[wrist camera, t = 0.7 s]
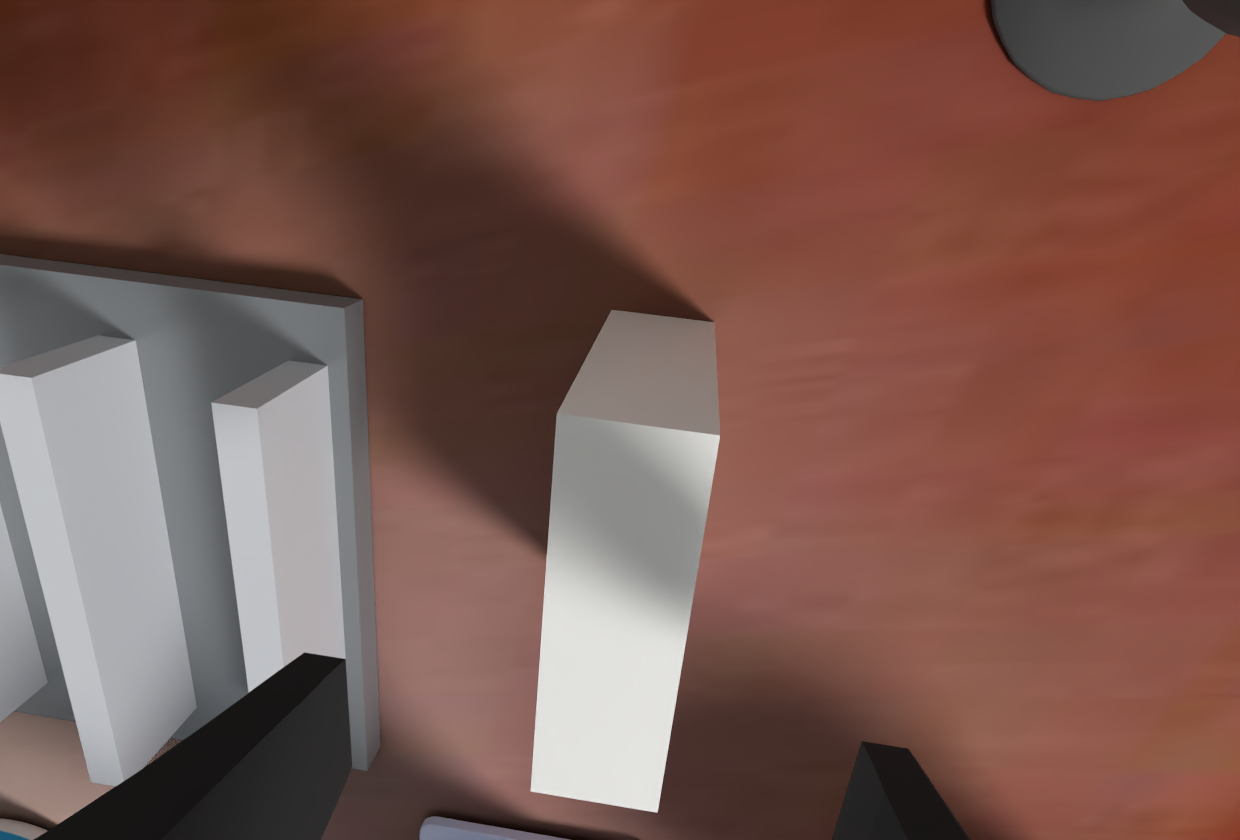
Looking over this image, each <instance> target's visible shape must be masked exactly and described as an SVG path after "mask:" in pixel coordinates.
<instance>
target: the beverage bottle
mask: <svg viewBox="0 0 1240 840" xmlns="http://www.w3.org/2000/svg"><path fill="white" fill-rule="evenodd" d="M47 831H48V830H46V829H43V828H40V827H38V826H35V825H32V824H28V823H25V822H21V821H16V820H10V819H3V818H0V840H34V839H35V838H37V837H39V836H40V835H42V834H44V833H45V832H47Z"/></svg>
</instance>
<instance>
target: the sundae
mask: <svg viewBox="0 0 1240 840" xmlns="http://www.w3.org/2000/svg"><path fill="white" fill-rule="evenodd" d="M991 6H992V16H993V22H994V24H995V27H996V29H997V32H998V34H999V37H1000V39H1001V42H1002V44H1003V46H1004V48H1005V49H1006V51H1007V53H1008V54H1009V56H1010V58H1011V60H1012V61H1013V63H1014V65H1015V66H1017V67H1018V68H1019V69H1020V70H1021V71H1022V72H1023V73H1025V74H1026V75H1027V76H1028V77H1029V78H1030V79H1031V80H1033V81H1034V82H1036V83H1038V84H1039V85H1041V86H1042V87H1044V88H1045V89H1047V90H1049V91H1050V92H1052V93H1056V94H1060V95H1064V96H1068V97H1072V98H1077V99H1086V100H1096V101H1102V100H1108V99H1114V98H1120V97H1126V96H1129V95H1133V94H1136V93H1140V92H1143V91H1147V90H1150V89H1153V88H1155V87H1157V86H1158V85H1160V84H1162V83H1164V82H1166V81H1167V80H1169V79H1171V78H1173V77H1175V76H1176V75H1178V74H1180V73H1181V72H1183V71H1184V70H1185V69H1187V68H1188V67H1190V66H1191V65H1193V64H1194V63H1196V62H1197V61H1198V60H1200V59H1201V58H1203V57H1204V56H1205V55H1206V54H1207V53H1208V52H1209V51H1210V50H1211V49H1212V48H1213V47H1214V45H1215V44H1216V43H1217V42H1218V41H1219V40H1220V39H1221V38H1222V37H1223V36H1224V35H1225V34H1230V35H1234V36H1238V37H1240V0H991Z"/></svg>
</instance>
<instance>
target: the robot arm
mask: <svg viewBox="0 0 1240 840" xmlns="http://www.w3.org/2000/svg"><path fill="white" fill-rule="evenodd" d="M351 768H352V753H351V737H350V721H349V705H348V689H347V673H346V659H342V658H336V657H330V656H324V655H317V654H311V653H305V652H304V653H303V654H302V655H300V656H299V657H297V658H296V659H294V660H293V661H292V662H290V663H289V664H287V665H286V666H285V667H283V668H282V669H280V670H279V671H278V672H276V673H275V674H274V675H272V676H271V677H269V678H268V679H267V680H265V681H264V682H263V683H261V684H260V685H258V686H257V687H256V688H254V689H253V690H252V691H250V692H249V693H248V694H246V695H245V696H244V697H242V698H241V699H239V700H238V701H237V702H235V703H234V704H233V705H231V706H230V707H229V708H227V709H226V710H224V711H223V712H222V713H220V714H219V715H218V716H216V717H215V718H213V719H212V720H211V721H209V722H208V723H207V724H205V725H204V726H202V727H201V728H200V729H198V730H197V731H195V732H194V733H193V734H191V735H190V736H188V737H187V738H185V739H184V740H183V741H181V742H180V743H178V744H177V745H176V746H174V747H173V748H171V749H170V750H169V751H167V752H166V753H164V754H163V755H161V756H160V757H159V758H157V759H156V760H154V761H153V762H152V763H150V764H149V765H147V766H146V767H144V768H143V769H141V770H140V771H139V772H137V773H136V774H134V775H133V776H131V777H130V778H128V779H126V780H125V781H123V782H122V783H120V784H119V785H117V786H116V787H114V788H113V789H111V790H110V791H108V792H107V793H105V794H104V795H102V796H101V797H99V798H98V799H96V800H95V801H93V802H92V803H90V804H89V805H87V806H86V807H84V808H83V809H81V810H80V811H78V812H77V813H75V814H73V815H72V816H70V817H69V818H67V819H66V820H64V821H63V822H61V823H60V824H58V825H56V826H55V827H53V828H52V829H50V830H48V831H47V832H45V833H44V834H42V835H40V836H39V837H37V838H35V839H34V840H320V839H321V837H322V835H323V832H324V830H325V828H326V826H327V824H328V821H329V819H330V817H331V815H332V812H333V810H334V808H335V806H336V803H337V801H338V799H339V796H340V794H341V792H342V789H343V787H344V785H345V782H346V780H347V777H348V775H349V773H350V770H351ZM420 840H570V839H565V838H559V837H553V836H547V835H542V834H536V833H530V832H524V831H518V830H513V829H507V828H501V827H495V826H489V825H484V824H478V823H472V822H466V821H460V820H455V819H449V818H443V817H436V816H432V817H429V818H426V819H425V820H424V822H423V824H422V827H421V829H420ZM832 840H970V839H969V837H968V836H967V834H966V833H965V831H964V830H963V828H962V827H961V825H960V824H959V823H958V821H957V820H956V818H955V817H954V815H953V814H952V812H951V811H950V809H949V808H948V806H947V805H946V803H945V802H944V800H943V799H942V797H941V796H940V795H939V793H938V792H937V790H936V789H935V787H934V786H933V784H932V783H931V781H930V780H929V778H928V777H927V775H926V774H925V772H924V771H923V769H922V768H921V766H920V765H919V763H918V762H917V761H916V759H915V758H914V756H913V755H912V753H911V752H910V751H909V749H907V748H900V747H894V746H888V745H881V744H875V743H869V742H863V741H862V743H861V746H860V749H859V752H858V756H857V759H856V762H855V766H854V769H853V772H852V775H851V779H850V782H849V785H848V789H847V792H846V795H845V799H844V802H843V805H842V808H841V812H840V815H839V818H838V822H837V825H836V828H835V831H834V835H833V838H832Z"/></svg>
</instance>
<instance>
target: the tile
mask: <svg viewBox="0 0 1240 840" xmlns="http://www.w3.org/2000/svg"><path fill="white" fill-rule="evenodd" d="M719 439H720V424H719V404H718V384H717V364H716V344H715V324H714V322H708V321H699V320H691V319H683V318H675V317H667V316H659V315H651V314H643V313H634V312H626V311H618V310H611V312H610V314H609V316H608V318H607V319H606V321H605V323H604V325H603V327H602V329H601V331H600V333H599V335H598V337H597V338H596V340H595V342H594V344H593V346H592V348H591V350H590V352H589V354H588V355H587V357H586V359H585V361H584V363H583V365H582V367H581V369H580V371H579V372H578V374H577V376H576V378H575V380H574V382H573V384H572V386H571V388H570V390H569V391H568V393H567V395H566V397H565V399H564V401H563V403H562V405H561V407H560V408H559V410H558V412H557V417H556V431H555V446H554V460H553V475H552V489H551V504H550V518H549V533H548V547H547V562H546V576H545V591H544V605H543V620H542V634H541V649H540V663H539V678H538V692H537V707H536V721H535V736H534V751H533V765H532V780H531V791H532V792H538V793H544V794H549V795H555V796H561V797H567V798H573V799H579V800H585V801H591V802H597V803H603V804H609V805H615V806H621V807H627V808H632V809H638V810H644V811H650V812H656V813H658V807H659V801H660V795H661V789H662V783H663V777H664V771H665V765H666V759H667V753H668V747H669V741H670V735H671V729H672V723H673V717H674V711H675V705H676V699H677V693H678V687H679V681H680V675H681V668H682V662H683V656H684V650H685V644H686V638H687V632H688V626H689V620H690V614H691V608H692V602H693V596H694V590H695V584H696V578H697V572H698V566H699V560H700V554H701V548H702V542H703V536H704V529H705V523H706V517H707V511H708V505H709V499H710V493H711V487H712V481H713V475H714V469H715V463H716V457H717V451H718V445H719Z"/></svg>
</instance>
